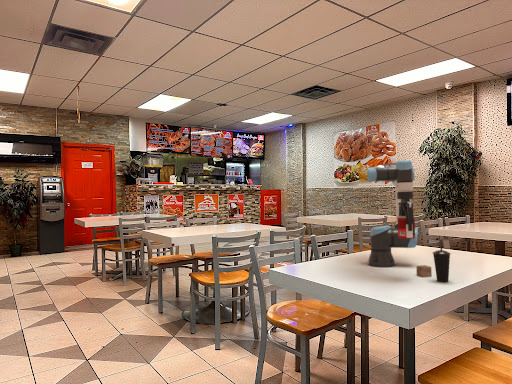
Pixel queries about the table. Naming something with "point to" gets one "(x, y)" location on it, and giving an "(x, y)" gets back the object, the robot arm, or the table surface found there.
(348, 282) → the table surface
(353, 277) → the table surface
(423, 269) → the walnut block
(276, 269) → the table surface
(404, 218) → the canned food
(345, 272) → the table surface
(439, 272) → the drinking cup
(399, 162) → the robot arm
